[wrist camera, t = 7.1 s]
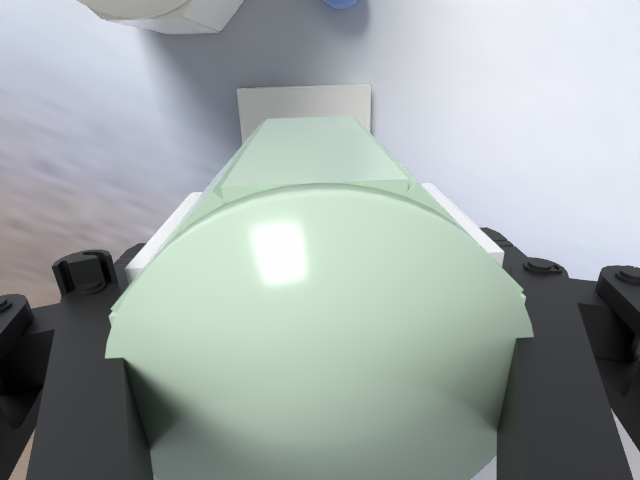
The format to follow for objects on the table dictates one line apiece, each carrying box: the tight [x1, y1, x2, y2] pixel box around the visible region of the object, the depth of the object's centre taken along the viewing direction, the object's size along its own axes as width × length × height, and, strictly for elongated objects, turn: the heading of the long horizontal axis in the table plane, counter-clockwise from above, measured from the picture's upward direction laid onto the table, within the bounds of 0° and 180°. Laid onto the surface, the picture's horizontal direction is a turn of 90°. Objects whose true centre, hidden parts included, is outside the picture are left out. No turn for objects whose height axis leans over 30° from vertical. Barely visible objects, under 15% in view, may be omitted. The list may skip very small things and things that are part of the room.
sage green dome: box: [105, 116, 534, 480], centre depth 12 cm, size 8×8×10 cm
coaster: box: [236, 84, 371, 145], centre depth 29 cm, size 9×9×1 cm
